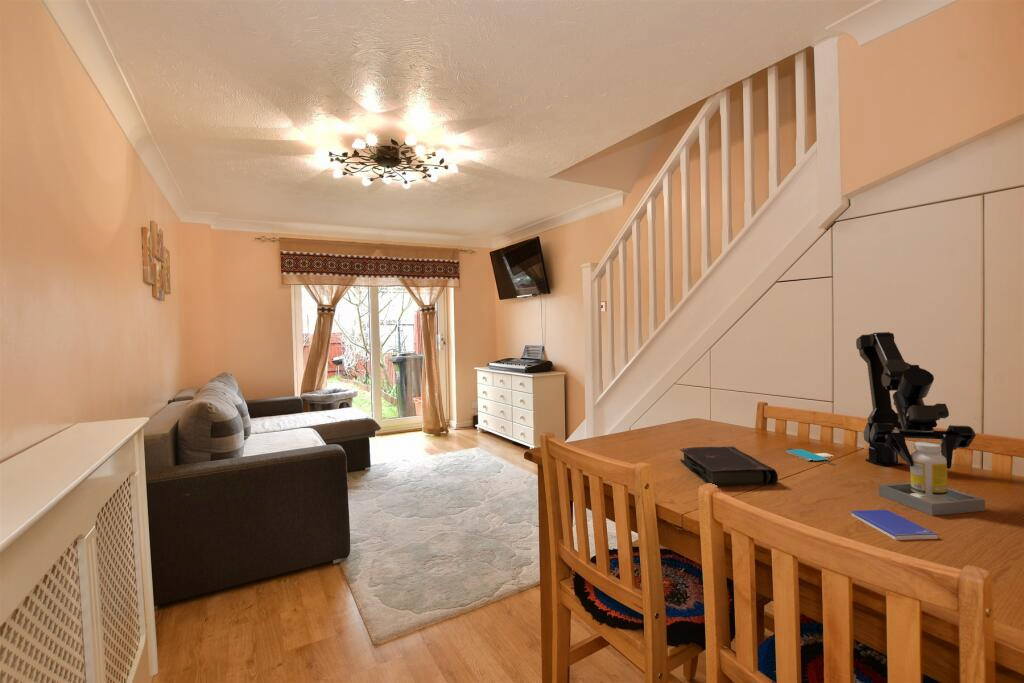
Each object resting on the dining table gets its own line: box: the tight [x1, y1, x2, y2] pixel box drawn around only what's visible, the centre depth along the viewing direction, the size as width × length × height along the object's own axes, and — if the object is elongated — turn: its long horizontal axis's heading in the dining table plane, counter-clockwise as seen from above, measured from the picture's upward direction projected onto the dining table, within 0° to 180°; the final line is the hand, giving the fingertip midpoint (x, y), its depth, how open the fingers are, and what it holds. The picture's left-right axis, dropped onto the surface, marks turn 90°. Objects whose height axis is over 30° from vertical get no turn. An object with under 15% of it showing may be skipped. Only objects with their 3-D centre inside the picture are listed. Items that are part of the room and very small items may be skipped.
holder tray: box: [878, 481, 986, 517], centre depth 108 cm, size 13×13×2 cm
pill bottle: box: [909, 441, 949, 497], centre depth 108 cm, size 6×6×12 cm
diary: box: [679, 446, 779, 488], centre depth 137 cm, size 19×25×5 cm
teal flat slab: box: [785, 447, 837, 466], centre depth 149 cm, size 20×12×2 cm, turn 5°
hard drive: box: [850, 509, 939, 541], centre depth 97 cm, size 2×8×12 cm
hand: (930, 466), depth 107 cm, fingers closed on pill bottle, 6 cm apart
